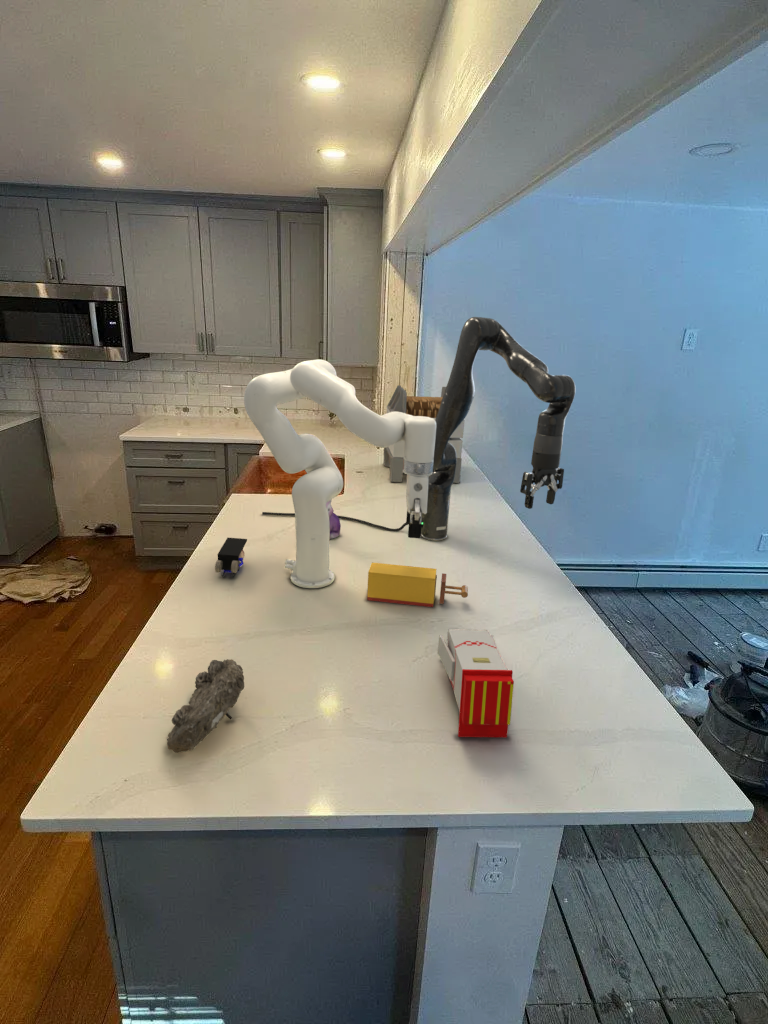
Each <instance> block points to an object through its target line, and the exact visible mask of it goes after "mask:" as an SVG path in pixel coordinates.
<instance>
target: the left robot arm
mask: <svg viewBox="0 0 768 1024" xmlns="http://www.w3.org/2000/svg"><path fill="white" fill-rule="evenodd" d="M356 392H357V391H356V388H355V386H354V385H353V384H351V383H350V382H348V381H346V380H345V379H343V378H341V377H339V376H337V371H336V368H335V367H334V366H333V364H331V362H329V361H327V360H325V359H321V358H319V359H311V360H310V359H309V360H304V361H300V362H299V363H297V364H296V365H294V367H293V368H290V369H287V370H281V371H276V372H269V373H268V372H267V373H263V374H260V375H257V376H255V377H253V379H251V380H250V381H249V382H248V384H247V385H246V387H245V390H244V395H243V404H244V409H245V412H246V414H247V416H248V417H249V419H250V421H251V423H252V424H253V425H254V426H255V428H256V430H257V431H258V432H259V434H260V435H261V437H262V439H263V440H264V443H265V445H266V446H267V447H268V449H269V450H270V452H271V454H272V456H273V457H274V459H275V461H276V463H277V464H278V466H279V467H280V469H281V470H282V471H283V472H285V473H286V474H289V475H290V474H291V475H293V474H297V473H300V472H302V471H305V474H303V475H302V476H300V477H299V478H298V479H296V481H295V482H294V484H293V486H292V488H291V499H292V504H293V509H294V513H295V516H294V526H295V527H294V528H295V529H294V530H295V560H293V559H288V558H287V559H285V561H284V569H286V570H291V571H292V572H291V574H290V581H291V583H292V584H294V585H295V586H297V587H299V588H303V589H320V588H324V587H327V586H329V585H331V584H332V583H333V582H334V581H335V573H334V571H332V570H331V569H330V522H329V515H328V511H327V508H326V503H327V502H328V501H330V500H331V499H332V500H333V499H334V498H336V497H338V496H339V495H340V494H341V492H342V491H343V488H344V479H343V475H342V473H341V471H340V470H339V467H338V466H337V464H336V463H335V461H334V459H333V458H332V455H331V454H330V452H329V450H328V449H327V448H326V445H325V444H324V443H323V441H322V440H321V439H320V438H319V437H317V436H316V435H314V434H311V433H300V434H298V433H297V431H296V430H295V428H294V427H293V425H292V423H291V421H290V420H289V418H288V417H287V416H286V415H285V414H284V413H283V412H282V411H280V410H279V409H278V407H277V406H278V405H283V404H287V403H291V402H294V401H297V400H298V401H299V400H301V399H305V398H308V399H309V400H310V401H313V402H314V403H316V404H318V405H320V406H321V407H322V408H325V409H326V410H327V411H329V412H331V413H333V414H334V415H336V416H337V418H338V420H339V422H340V423H342V425H343V426H344V427H345V428H346V429H347V430H348V431H349V432H350V433H352V434H353V435H354V436H356V437H357V438H359V439H361V440H363V441H364V442H366V443H368V444H370V445H372V446H374V447H376V448H381V449H382V448H383V449H384V448H385V447H389V446H391V445H393V444H395V443H397V442H400V441H405V443H404V459H403V474H405V475H406V485H405V486H406V487H405V488H406V489H405V500H406V501H405V502H406V521H405V523H407V524H408V529H407V530H408V531H407V537H408V538H410V539H422V537H421V528H422V523H421V513H424V514H426V513H427V501H428V477H429V476H430V475H432V473H433V462H434V450H435V438H436V421H435V420H434V419H433V418H430V417H425V416H412V415H409V414H405V413H402V412H396V411H394V412H390V413H387V414H386V413H384V414H382V415H380V414H378V413H377V412H376V411H373V410H371V409H370V408H369V407H367V406H365V405H364V404H363V403H361V401H360V400H359V399H358V398H357V396H356V395H357V394H356Z"/></svg>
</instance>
